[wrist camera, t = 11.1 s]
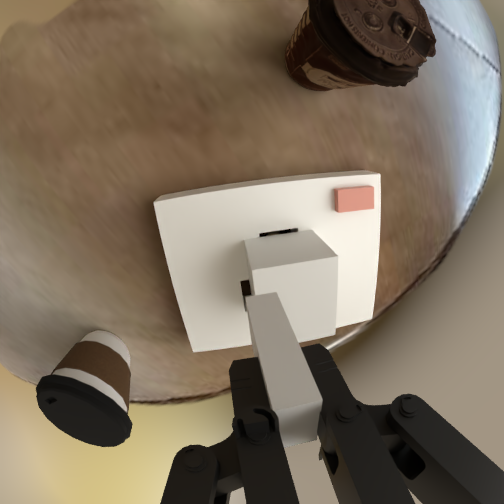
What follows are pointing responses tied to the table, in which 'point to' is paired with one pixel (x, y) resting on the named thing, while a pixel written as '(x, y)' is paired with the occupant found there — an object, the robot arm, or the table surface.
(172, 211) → the socket plate
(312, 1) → the coffee cup
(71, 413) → the coffee cup
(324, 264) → the plug
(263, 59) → the table surface
